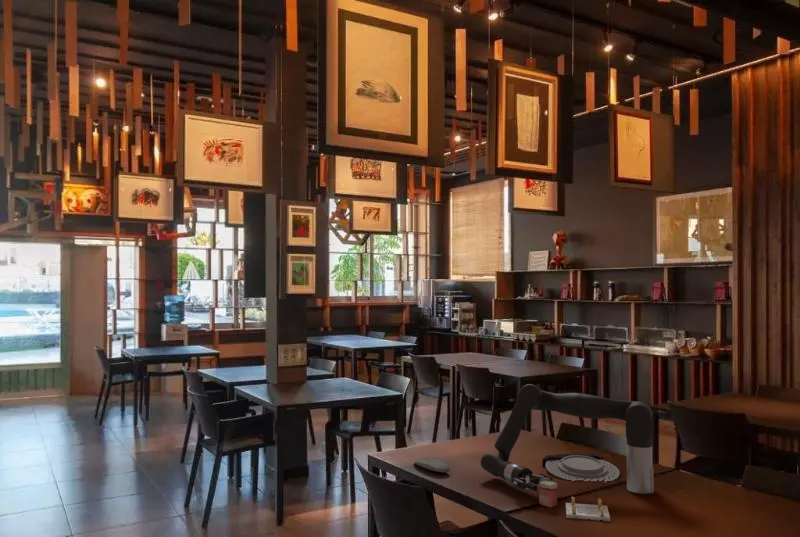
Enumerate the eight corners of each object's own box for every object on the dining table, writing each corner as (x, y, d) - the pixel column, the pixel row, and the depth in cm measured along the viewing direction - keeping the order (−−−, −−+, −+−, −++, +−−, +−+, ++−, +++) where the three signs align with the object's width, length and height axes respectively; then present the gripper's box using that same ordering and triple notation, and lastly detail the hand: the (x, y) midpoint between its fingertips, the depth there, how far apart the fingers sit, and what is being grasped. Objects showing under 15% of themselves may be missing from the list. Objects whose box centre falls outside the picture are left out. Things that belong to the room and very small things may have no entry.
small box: (538, 504, 231) (538, 482, 231) (545, 501, 234) (545, 479, 235) (551, 508, 228) (551, 485, 228) (557, 505, 231) (557, 482, 231)
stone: (430, 462, 289) (409, 464, 285) (430, 454, 289) (409, 456, 285) (453, 474, 266) (431, 477, 263) (453, 465, 267) (431, 468, 263)
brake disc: (539, 460, 290) (539, 449, 290) (607, 462, 288) (607, 451, 288) (552, 483, 258) (552, 471, 258) (628, 484, 256) (628, 472, 256)
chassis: (607, 509, 226) (606, 498, 227) (610, 521, 215) (610, 510, 215) (565, 506, 230) (565, 495, 230) (566, 517, 218) (566, 506, 218)
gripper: (502, 467, 244) (530, 478, 229) (533, 463, 250) (561, 473, 236) (503, 487, 243) (530, 500, 229) (533, 482, 250) (561, 494, 235)
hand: (546, 486), depth 232 cm, fingers open, 8 cm apart
